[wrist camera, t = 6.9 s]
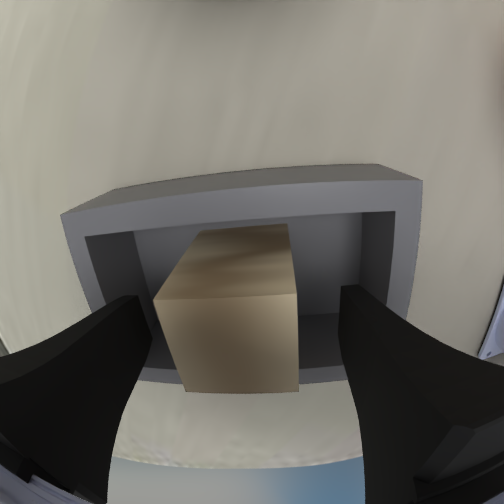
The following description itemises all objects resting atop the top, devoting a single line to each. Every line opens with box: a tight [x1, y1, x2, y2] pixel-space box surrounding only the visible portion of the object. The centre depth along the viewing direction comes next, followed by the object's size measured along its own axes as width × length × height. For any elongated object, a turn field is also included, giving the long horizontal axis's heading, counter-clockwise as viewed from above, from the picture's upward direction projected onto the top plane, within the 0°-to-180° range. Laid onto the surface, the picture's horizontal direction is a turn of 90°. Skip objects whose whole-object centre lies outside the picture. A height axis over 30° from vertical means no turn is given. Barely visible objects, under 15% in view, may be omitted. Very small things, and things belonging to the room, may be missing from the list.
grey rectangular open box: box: [60, 164, 423, 384], centre depth 12 cm, size 13×8×4 cm, turn 95°
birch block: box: [153, 223, 299, 394], centre depth 11 cm, size 4×4×6 cm
